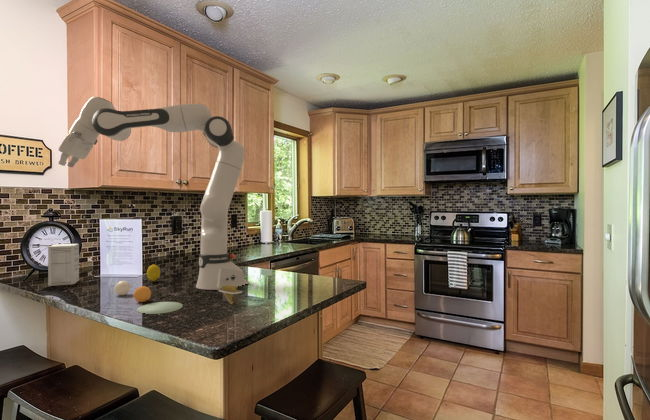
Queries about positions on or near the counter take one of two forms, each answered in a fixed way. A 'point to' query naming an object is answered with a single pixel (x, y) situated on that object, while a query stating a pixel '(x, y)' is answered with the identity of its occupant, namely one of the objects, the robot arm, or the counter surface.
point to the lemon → (153, 272)
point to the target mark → (159, 307)
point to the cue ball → (122, 288)
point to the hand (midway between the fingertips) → (65, 165)
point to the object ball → (142, 294)
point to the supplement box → (63, 264)
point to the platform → (230, 293)
